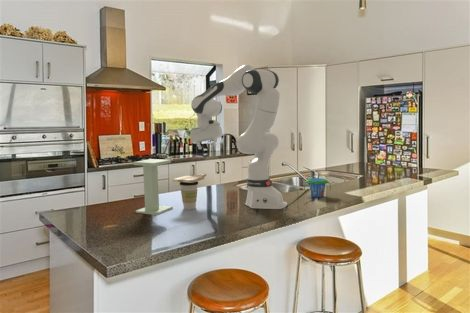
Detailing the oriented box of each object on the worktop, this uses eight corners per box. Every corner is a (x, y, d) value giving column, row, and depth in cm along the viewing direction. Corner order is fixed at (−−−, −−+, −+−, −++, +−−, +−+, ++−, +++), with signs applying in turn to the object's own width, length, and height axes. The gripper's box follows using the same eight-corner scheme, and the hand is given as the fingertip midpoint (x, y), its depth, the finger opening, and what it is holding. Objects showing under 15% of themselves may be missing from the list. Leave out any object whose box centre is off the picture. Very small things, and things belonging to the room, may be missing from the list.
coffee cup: (195, 210, 193) (194, 182, 191) (177, 210, 195) (176, 181, 193) (201, 206, 202) (200, 178, 201) (183, 205, 204) (183, 178, 202)
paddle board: (212, 176, 208) (212, 174, 208) (192, 182, 189) (192, 180, 189) (194, 175, 213) (193, 173, 213) (172, 181, 194) (172, 179, 194)
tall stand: (172, 208, 198) (171, 159, 195) (156, 215, 186) (154, 163, 183) (152, 206, 204) (150, 158, 201) (135, 212, 191) (133, 162, 188)
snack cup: (302, 197, 219) (302, 180, 218) (305, 193, 229) (305, 177, 228) (329, 199, 214) (330, 181, 212) (331, 195, 223) (331, 178, 222)
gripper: (187, 128, 225) (189, 149, 222) (217, 119, 217) (219, 142, 214) (192, 130, 231) (194, 152, 227) (222, 122, 223) (224, 144, 219)
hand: (207, 147), depth 220 cm, fingers open, 8 cm apart
